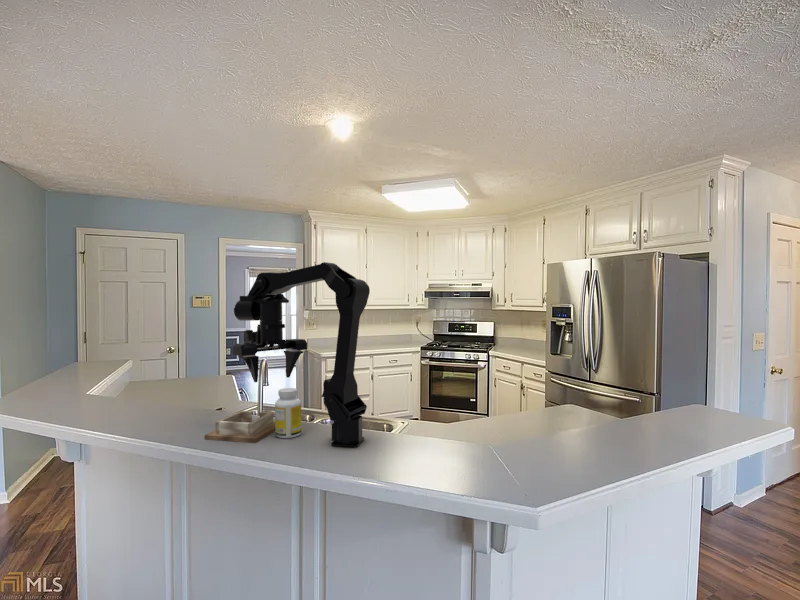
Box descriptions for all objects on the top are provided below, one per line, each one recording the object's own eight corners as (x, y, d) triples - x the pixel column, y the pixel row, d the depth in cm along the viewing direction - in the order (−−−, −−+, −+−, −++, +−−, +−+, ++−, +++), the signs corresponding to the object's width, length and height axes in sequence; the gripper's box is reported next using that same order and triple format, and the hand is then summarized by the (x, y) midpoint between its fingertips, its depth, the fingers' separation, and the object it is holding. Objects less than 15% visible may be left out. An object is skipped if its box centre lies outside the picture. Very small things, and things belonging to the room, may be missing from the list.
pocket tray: (282, 426, 117) (282, 411, 117) (256, 442, 104) (256, 426, 104) (236, 423, 120) (236, 409, 120) (204, 439, 106) (204, 423, 106)
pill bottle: (304, 431, 112) (304, 387, 112) (296, 439, 106) (296, 392, 106) (280, 430, 113) (280, 386, 113) (271, 438, 107) (270, 392, 107)
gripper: (287, 318, 125) (288, 372, 125) (223, 321, 112) (224, 381, 112) (308, 319, 117) (309, 376, 117) (241, 322, 104) (243, 386, 104)
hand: (272, 379), depth 113 cm, fingers open, 9 cm apart
